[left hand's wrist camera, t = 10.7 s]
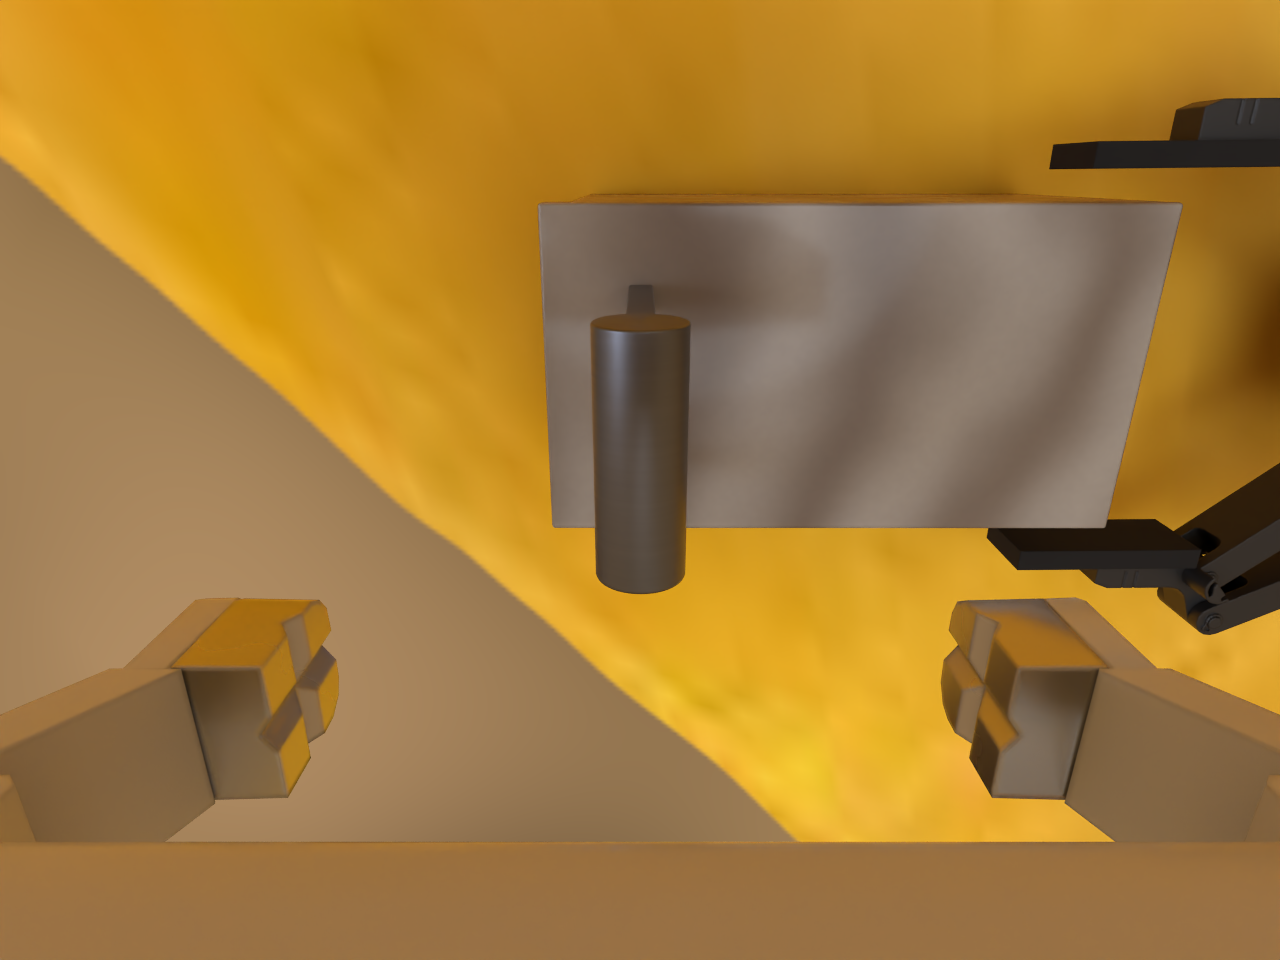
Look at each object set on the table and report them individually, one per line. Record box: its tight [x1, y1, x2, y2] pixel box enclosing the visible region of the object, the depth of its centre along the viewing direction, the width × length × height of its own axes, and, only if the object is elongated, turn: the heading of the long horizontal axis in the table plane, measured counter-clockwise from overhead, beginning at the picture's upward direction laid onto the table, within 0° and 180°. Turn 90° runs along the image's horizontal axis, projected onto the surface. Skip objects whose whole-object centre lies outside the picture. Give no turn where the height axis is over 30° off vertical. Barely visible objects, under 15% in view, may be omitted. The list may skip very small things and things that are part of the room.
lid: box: [538, 202, 1183, 594], centre depth 20 cm, size 18×10×9 cm, turn 90°
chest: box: [572, 194, 1157, 202], centre depth 29 cm, size 17×10×10 cm, turn 90°
